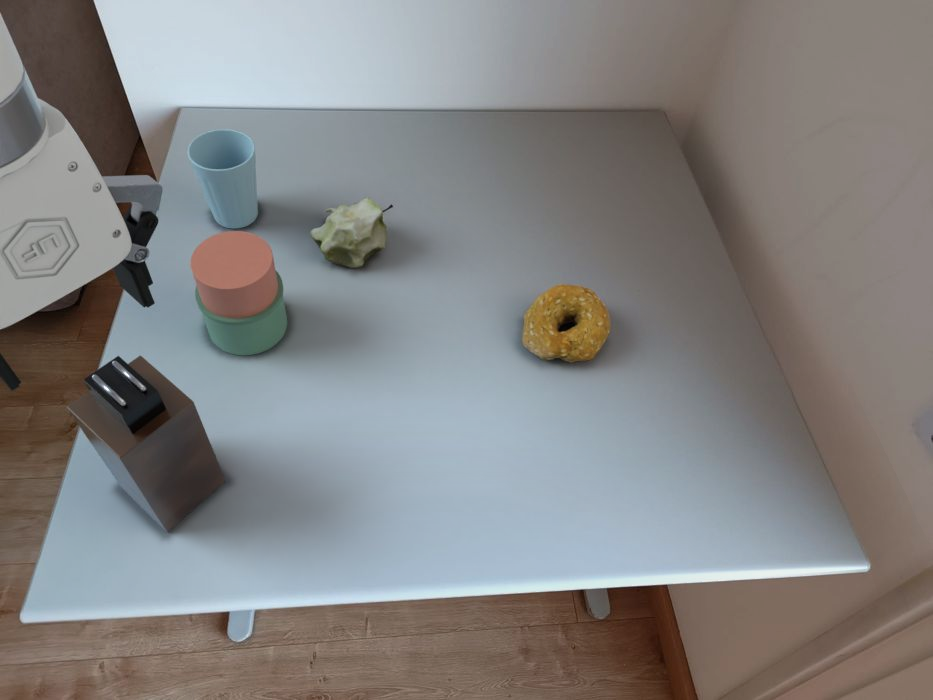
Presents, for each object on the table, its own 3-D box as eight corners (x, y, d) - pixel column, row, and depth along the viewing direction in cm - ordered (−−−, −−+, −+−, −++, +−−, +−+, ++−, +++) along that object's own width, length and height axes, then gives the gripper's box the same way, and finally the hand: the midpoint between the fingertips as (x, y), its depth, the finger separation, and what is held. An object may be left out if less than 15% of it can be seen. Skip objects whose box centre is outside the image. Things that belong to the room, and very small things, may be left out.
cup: (210, 240, 89) (193, 175, 81) (200, 200, 93) (182, 134, 85) (271, 228, 92) (260, 163, 83) (258, 190, 96) (246, 124, 87)
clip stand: (167, 532, 67) (119, 458, 55) (121, 487, 69) (65, 406, 57) (226, 481, 71) (193, 401, 59) (180, 440, 73) (140, 354, 61)
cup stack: (244, 371, 79) (226, 307, 70) (189, 326, 81) (165, 259, 73) (305, 323, 83) (296, 258, 74) (252, 282, 86) (237, 215, 77)
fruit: (386, 231, 95) (398, 191, 88) (374, 287, 90) (386, 249, 83) (318, 213, 93) (324, 170, 87) (302, 269, 89) (307, 228, 82)
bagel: (501, 323, 86) (507, 297, 82) (573, 291, 90) (581, 265, 86) (550, 383, 81) (558, 359, 77) (623, 346, 85) (634, 321, 82)
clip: (132, 434, 56) (120, 413, 54) (94, 398, 58) (80, 376, 55) (166, 409, 58) (156, 387, 55) (128, 374, 60) (116, 351, 57)
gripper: (-216, 243, 29) (-24, 449, 42) (156, 82, 38) (216, 296, 51) (-289, 155, 31) (-86, 376, 45) (75, 23, 40) (153, 242, 54)
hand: (75, 333), depth 48 cm, fingers open, 9 cm apart
